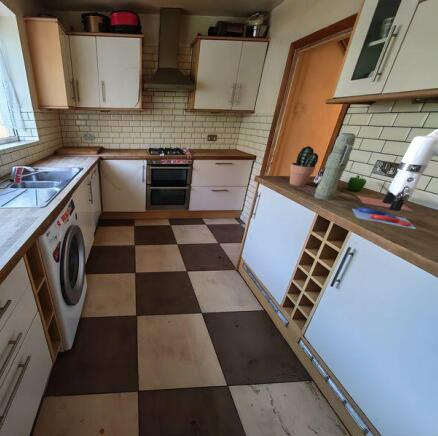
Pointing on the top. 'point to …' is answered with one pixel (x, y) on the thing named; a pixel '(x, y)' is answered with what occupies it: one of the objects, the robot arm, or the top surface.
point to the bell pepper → (356, 183)
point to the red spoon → (390, 219)
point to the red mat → (380, 203)
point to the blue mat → (367, 217)
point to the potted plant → (303, 166)
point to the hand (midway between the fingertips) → (390, 206)
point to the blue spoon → (376, 212)
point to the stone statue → (335, 166)
